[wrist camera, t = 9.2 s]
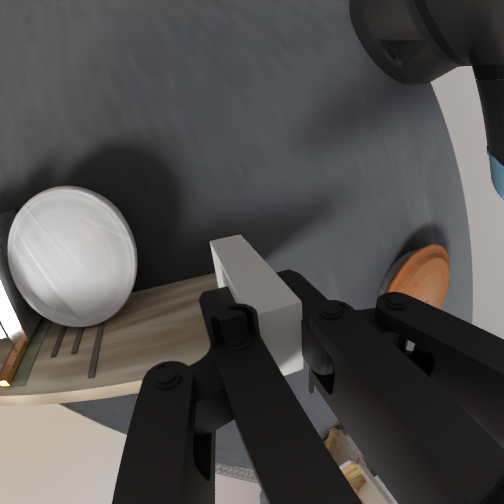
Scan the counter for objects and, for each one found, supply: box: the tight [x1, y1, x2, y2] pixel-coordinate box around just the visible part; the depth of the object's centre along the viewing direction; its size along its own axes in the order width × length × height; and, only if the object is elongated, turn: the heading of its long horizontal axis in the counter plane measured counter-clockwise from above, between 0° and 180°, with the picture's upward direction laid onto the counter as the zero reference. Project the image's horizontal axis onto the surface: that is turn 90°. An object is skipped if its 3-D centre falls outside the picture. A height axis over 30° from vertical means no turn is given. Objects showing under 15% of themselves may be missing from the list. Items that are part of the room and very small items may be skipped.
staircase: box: [323, 428, 393, 504], centre depth 34 cm, size 8×12×26 cm
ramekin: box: [7, 186, 137, 327], centre depth 19 cm, size 11×11×5 cm
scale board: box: [0, 273, 219, 405], centre depth 19 cm, size 1×26×12 cm, turn 98°
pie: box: [377, 244, 450, 309], centre depth 35 cm, size 16×16×5 cm
